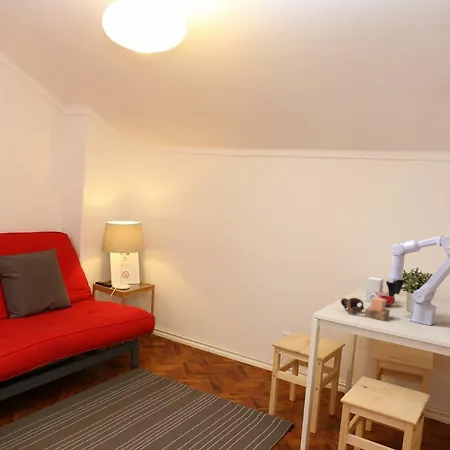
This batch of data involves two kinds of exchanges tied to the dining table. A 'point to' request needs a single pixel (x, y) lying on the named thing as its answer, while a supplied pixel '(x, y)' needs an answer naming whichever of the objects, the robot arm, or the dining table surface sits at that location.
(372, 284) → the supplement box
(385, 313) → the light tan wooden block
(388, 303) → the soda can
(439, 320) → the dining table surface
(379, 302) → the terracotta block
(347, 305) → the pottery mug
